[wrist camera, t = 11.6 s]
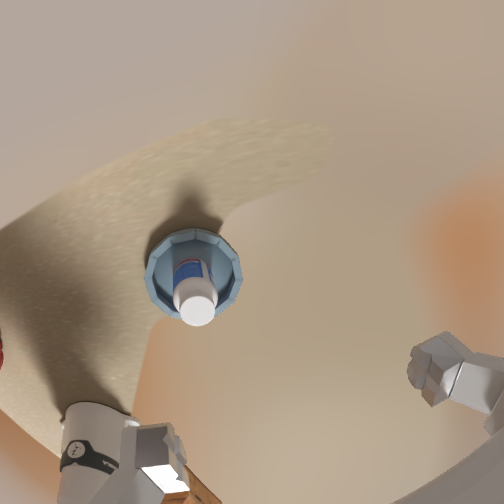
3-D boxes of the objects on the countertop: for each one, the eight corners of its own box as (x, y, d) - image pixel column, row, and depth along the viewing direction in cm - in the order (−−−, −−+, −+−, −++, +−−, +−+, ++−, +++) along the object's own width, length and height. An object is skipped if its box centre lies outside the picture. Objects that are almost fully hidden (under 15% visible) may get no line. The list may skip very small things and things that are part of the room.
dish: (245, 301, 47) (248, 308, 45) (161, 320, 45) (161, 328, 43) (229, 218, 42) (232, 222, 40) (136, 240, 40) (133, 245, 38)
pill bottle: (165, 281, 42) (163, 318, 33) (185, 249, 41) (187, 280, 32) (199, 298, 44) (205, 338, 35) (219, 268, 43) (230, 303, 34)
